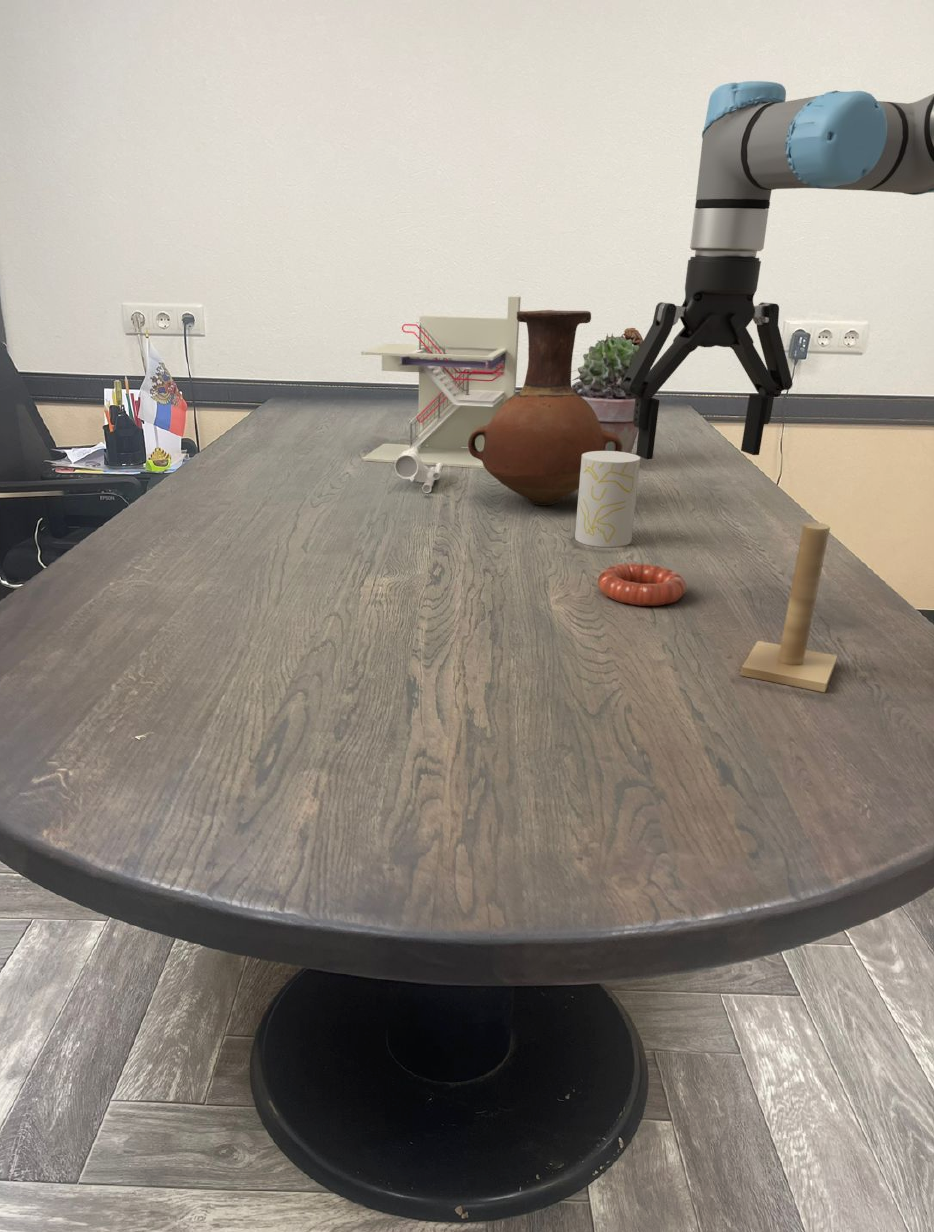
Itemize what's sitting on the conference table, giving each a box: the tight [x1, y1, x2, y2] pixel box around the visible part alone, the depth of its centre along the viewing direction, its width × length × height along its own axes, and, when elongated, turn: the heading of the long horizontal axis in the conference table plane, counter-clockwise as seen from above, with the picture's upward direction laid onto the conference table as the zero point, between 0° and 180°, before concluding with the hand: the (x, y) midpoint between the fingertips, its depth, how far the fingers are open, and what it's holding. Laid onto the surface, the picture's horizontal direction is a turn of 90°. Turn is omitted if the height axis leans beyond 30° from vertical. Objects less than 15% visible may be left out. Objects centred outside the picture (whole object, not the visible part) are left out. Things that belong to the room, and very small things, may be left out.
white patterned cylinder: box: [574, 451, 641, 548], centre depth 136 cm, size 8×8×12 cm
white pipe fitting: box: [394, 447, 444, 494], centre depth 169 cm, size 8×14×5 cm
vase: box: [468, 309, 622, 506], centre depth 152 cm, size 25×20×30 cm
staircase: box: [360, 296, 521, 469], centre depth 184 cm, size 28×18×30 cm, turn 76°
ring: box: [597, 563, 687, 607], centre depth 116 cm, size 10×10×3 cm
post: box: [740, 521, 839, 693], centre depth 93 cm, size 8×8×15 cm
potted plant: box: [571, 327, 659, 454], centre depth 182 cm, size 18×20×25 cm
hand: (697, 455), depth 110 cm, fingers open, 13 cm apart
